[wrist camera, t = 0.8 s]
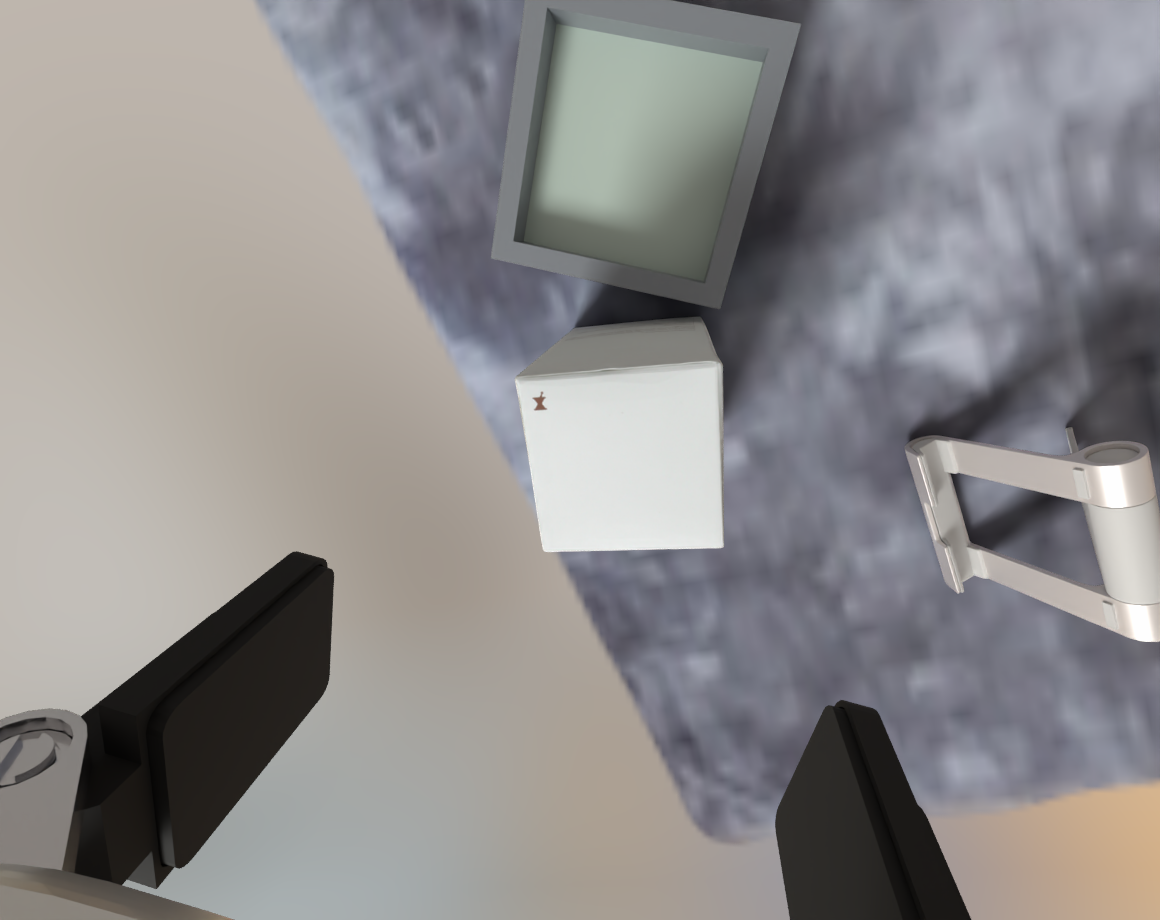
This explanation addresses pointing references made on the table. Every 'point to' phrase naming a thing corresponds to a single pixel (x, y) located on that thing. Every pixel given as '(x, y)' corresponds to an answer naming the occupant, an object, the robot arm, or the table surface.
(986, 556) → the portable electronic device stand
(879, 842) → the robot arm
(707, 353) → the supplement box
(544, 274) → the table surface
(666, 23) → the tray
